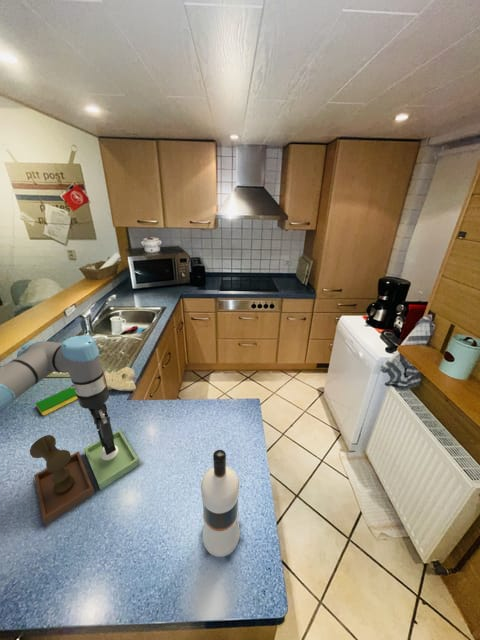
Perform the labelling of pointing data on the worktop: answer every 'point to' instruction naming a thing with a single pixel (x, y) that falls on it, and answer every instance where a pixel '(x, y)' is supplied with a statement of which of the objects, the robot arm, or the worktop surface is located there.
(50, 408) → the dish sponge
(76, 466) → the walnut tray
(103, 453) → the white jar
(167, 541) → the worktop surface
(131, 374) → the cheese
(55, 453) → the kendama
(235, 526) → the vodka
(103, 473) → the green tray
